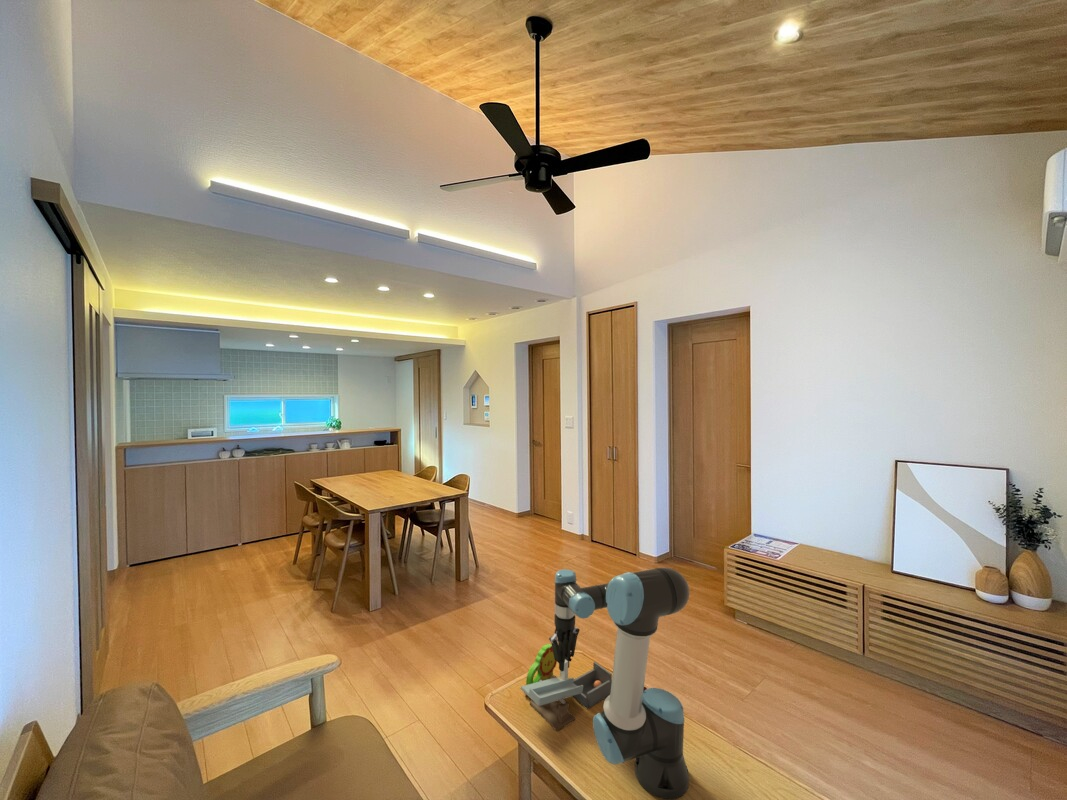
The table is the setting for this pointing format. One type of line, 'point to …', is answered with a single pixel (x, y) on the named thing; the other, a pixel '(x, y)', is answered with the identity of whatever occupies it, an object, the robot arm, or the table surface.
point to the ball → (597, 683)
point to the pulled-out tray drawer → (590, 693)
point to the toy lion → (542, 665)
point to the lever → (552, 690)
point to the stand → (554, 714)
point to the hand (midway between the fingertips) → (563, 677)
